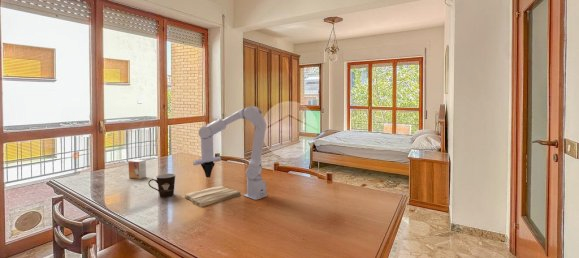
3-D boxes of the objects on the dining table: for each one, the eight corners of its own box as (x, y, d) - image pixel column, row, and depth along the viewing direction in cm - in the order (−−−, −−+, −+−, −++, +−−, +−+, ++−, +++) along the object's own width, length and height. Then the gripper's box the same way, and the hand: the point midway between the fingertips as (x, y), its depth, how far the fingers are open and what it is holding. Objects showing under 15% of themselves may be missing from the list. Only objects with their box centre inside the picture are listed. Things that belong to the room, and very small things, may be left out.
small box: (128, 178, 178) (127, 161, 176) (136, 175, 183) (135, 159, 182) (139, 179, 175) (138, 161, 174) (146, 176, 181) (145, 160, 179)
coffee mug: (179, 192, 149) (178, 173, 148) (170, 198, 141) (169, 178, 140) (157, 192, 151) (156, 173, 150) (147, 197, 142) (146, 177, 141)
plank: (229, 191, 151) (229, 188, 150) (193, 201, 136) (193, 198, 136) (220, 188, 156) (220, 185, 156) (184, 197, 141) (184, 194, 141)
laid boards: (240, 195, 146) (240, 191, 146) (200, 206, 130) (200, 203, 130) (232, 192, 151) (232, 189, 150) (192, 203, 134) (192, 199, 134)
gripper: (215, 147, 153) (215, 172, 155) (189, 151, 143) (190, 178, 144) (223, 149, 149) (223, 175, 150) (197, 153, 138) (198, 181, 139)
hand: (208, 177), depth 147 cm, fingers closed
